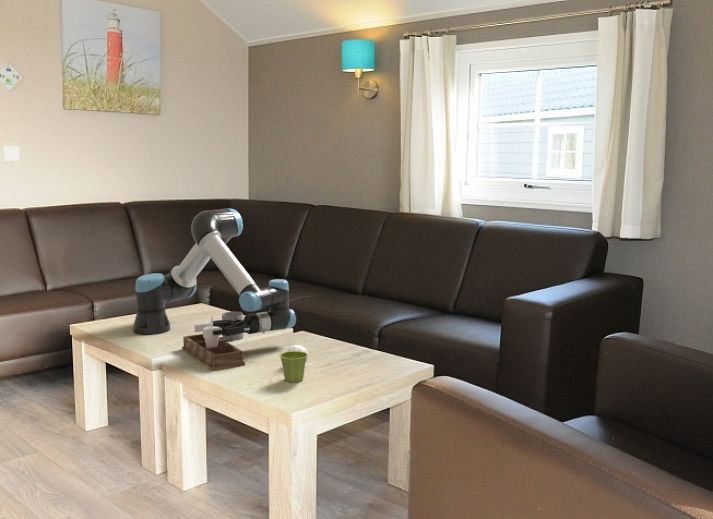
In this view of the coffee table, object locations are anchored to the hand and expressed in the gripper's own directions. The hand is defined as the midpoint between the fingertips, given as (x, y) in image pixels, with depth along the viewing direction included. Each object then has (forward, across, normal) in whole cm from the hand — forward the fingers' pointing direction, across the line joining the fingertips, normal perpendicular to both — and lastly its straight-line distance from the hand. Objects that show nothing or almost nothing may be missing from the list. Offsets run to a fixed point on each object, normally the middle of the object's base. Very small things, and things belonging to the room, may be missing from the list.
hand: (199, 331), depth 265 cm
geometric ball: (-26, -27, -11) cm, 39 cm away
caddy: (-5, 0, -10) cm, 11 cm away
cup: (-22, +21, -11) cm, 32 cm away
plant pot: (-18, -40, -11) cm, 45 cm away
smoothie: (-5, 0, -10) cm, 11 cm away
